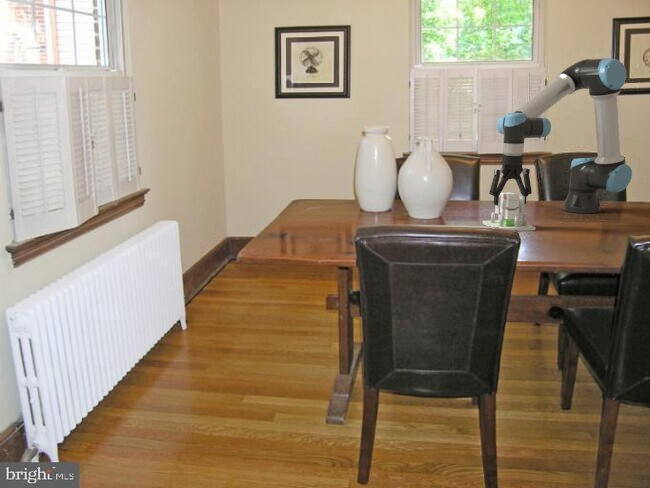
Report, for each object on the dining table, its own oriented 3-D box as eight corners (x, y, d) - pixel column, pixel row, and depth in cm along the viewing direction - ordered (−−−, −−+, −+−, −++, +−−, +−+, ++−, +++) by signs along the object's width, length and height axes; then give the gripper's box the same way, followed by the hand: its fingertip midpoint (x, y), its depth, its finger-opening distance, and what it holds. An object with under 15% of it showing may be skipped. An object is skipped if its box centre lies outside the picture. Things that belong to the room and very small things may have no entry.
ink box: (518, 225, 267) (520, 195, 265) (506, 226, 266) (508, 195, 264) (509, 221, 276) (511, 191, 273) (497, 221, 275) (499, 192, 272)
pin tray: (515, 222, 280) (515, 209, 279) (535, 230, 265) (536, 216, 264) (482, 223, 277) (483, 210, 276) (501, 231, 262) (502, 218, 261)
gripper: (534, 152, 271) (530, 210, 276) (481, 154, 266) (478, 212, 271) (544, 154, 264) (540, 213, 269) (490, 156, 259) (487, 215, 264)
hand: (509, 212), depth 270 cm, fingers open, 9 cm apart
